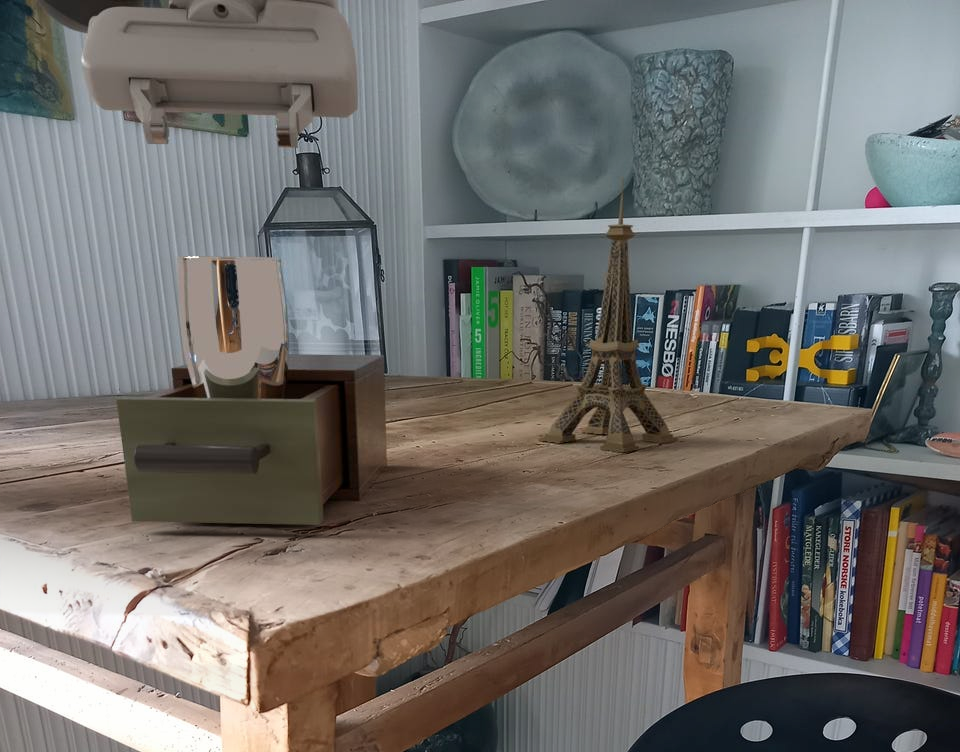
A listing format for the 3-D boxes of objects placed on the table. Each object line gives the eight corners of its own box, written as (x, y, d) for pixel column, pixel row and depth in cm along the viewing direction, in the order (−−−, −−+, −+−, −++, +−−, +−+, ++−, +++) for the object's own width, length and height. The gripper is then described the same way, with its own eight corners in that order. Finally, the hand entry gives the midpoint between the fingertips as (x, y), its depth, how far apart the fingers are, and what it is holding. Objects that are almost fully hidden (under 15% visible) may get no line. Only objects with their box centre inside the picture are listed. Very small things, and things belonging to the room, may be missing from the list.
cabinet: (359, 500, 71) (354, 370, 68) (184, 497, 72) (170, 368, 68) (387, 465, 85) (384, 355, 81) (239, 462, 85) (230, 353, 82)
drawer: (303, 544, 56) (294, 411, 53) (100, 540, 56) (81, 408, 54) (356, 482, 73) (352, 379, 70) (200, 480, 73) (189, 378, 71)
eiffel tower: (595, 430, 106) (607, 185, 97) (678, 440, 99) (699, 179, 90) (538, 441, 98) (546, 177, 89) (623, 452, 92) (641, 169, 83)
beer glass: (177, 495, 63) (151, 256, 58) (227, 475, 69) (207, 258, 64) (272, 501, 62) (254, 256, 56) (314, 481, 68) (301, 259, 63)
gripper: (78, -33, 70) (59, 92, 64) (354, -20, 72) (358, 102, 67) (102, 50, 76) (86, 171, 70) (356, 60, 78) (360, 178, 72)
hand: (221, 138), depth 68 cm, fingers open, 8 cm apart
